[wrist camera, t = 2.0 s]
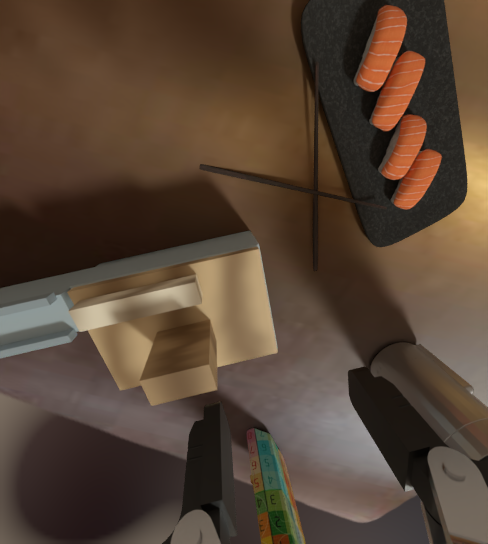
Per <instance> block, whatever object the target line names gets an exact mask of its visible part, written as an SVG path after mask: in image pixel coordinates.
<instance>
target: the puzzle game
mask: <svg viewBox="0 0 488 544" xmlns="http://www.w3.org/2000/svg"><path fill="white" fill-rule="evenodd" d="M247 442H248V450H249V457H250V464H251V471H252V472H251V473H252V475H250V478H251V483H252V484H253V488H254V493H255V500H256V507H257V515H258V522H259V529H260V537H261V543H262V544H306V543H305V539H304V535H303V531H302V527H301V523H300V519H299V515H298V511H297V507H296V503H295V499H294V495H293V491H292V487H291V483H290V479H289V475H288V471H287V467H286V463H285V459H284V458H283V456H282V454H281V452H280V451H279V449H278V447H277V446H276V444H275V442H274V440H273V439H272V437H271V435H270V434H269V433H266V432H263V431H260V430H258V429H255V428H251V429H249V430H247Z"/></svg>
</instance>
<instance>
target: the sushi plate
mask: <svg viewBox="0 0 488 544" xmlns="http://www.w3.org/2000/svg"><path fill="white" fill-rule="evenodd" d="M301 33H302V40H303V44H304V49H305V53H306V56H307V60H308V63H309V66H310V69H311V73H312V76H313V79H314V82H315V128H314V190H310V189H306V188H302V187H298V186H293V185H289V184H285V183H280V182H276V181H272V180H268V179H263V178H259V177H255V176H250V175H246V174H242V173H238V172H233V171H229V170H225V169H220V168H216V167H212V166H207V165H202V164H200V169H201V170H206V171H210V172H214V173H219V174H223V175H228V176H233V177H237V178H242V179H246V180H251V181H256V182H260V183H265V184H270V185H274V186H279V187H284V188H288V189H293V190H298V191H302V192H307V193H311V194H314V198H313V267H314V271H317V260H318V195H321V196H325V197H330V198H334V199H339V200H344V201H348V202H353V203H355V205H356V208H357V211H358V214H359V217H360V220H361V223H362V226H363V228H364V231H365V233H366V235H367V237H368V239H369V240H370V242H371V243H372V244H373V245H375V246H376V247H385V246H389V245H392V244H394V243H396V242H399V241H401V240H403V239H405V238H407V237H409V236H411V235H413V234H415V233H417V232H419V231H420V230H422V229H424V228H426V227H428V226H430V225H432V224H434V223H435V222H437V221H439V220H441V219H442V218H444V217H446V216H447V215H449V214H451V213H452V212H453V211H455V210H456V209H457V208H458V207H459V206H460V205H461V204H462V203H463V202H464V200H465V197H466V193H467V171H466V162H465V154H464V146H463V139H462V131H461V124H460V116H459V109H458V101H457V94H456V86H455V79H454V71H453V64H452V57H451V49H450V42H449V34H448V27H447V19H446V12H445V4H444V0H310V1H309V2H308V3H307V5H306V7H305V9H304V11H303V13H302V18H301ZM318 94H319V97H320V100H321V103H322V106H323V109H324V112H325V115H326V118H327V121H328V124H329V127H330V130H331V133H332V136H333V139H334V142H335V145H336V148H337V151H338V154H339V157H340V160H341V163H342V166H343V169H344V172H345V175H346V178H347V181H348V184H349V187H350V190H351V193H352V196H353V199H350V198H345V197H341V196H336V195H332V194H328V193H323V192H319V191H318Z"/></svg>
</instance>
